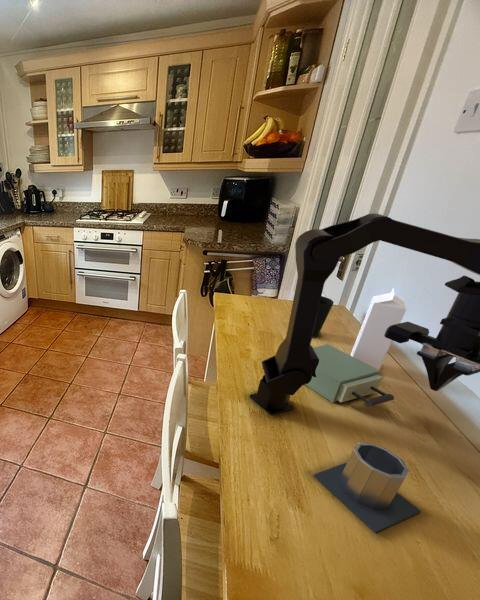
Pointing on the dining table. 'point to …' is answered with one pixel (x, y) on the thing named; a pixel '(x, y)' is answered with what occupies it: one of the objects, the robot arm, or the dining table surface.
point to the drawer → (363, 391)
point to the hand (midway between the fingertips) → (434, 389)
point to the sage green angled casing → (336, 371)
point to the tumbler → (373, 475)
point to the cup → (322, 314)
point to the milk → (378, 329)
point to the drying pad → (372, 518)
